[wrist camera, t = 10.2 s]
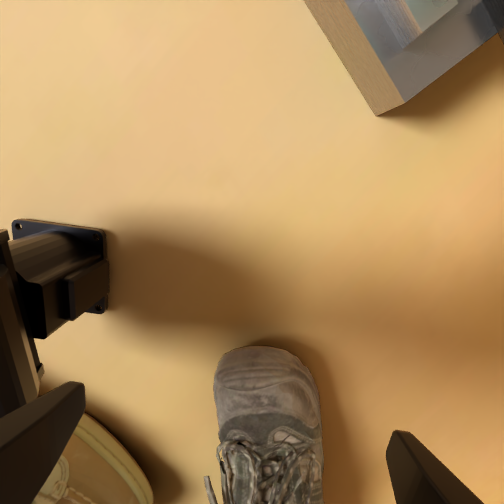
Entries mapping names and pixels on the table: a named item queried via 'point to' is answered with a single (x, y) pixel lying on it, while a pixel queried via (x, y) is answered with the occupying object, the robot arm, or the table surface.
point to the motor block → (404, 41)
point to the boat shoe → (95, 471)
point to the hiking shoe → (267, 429)
